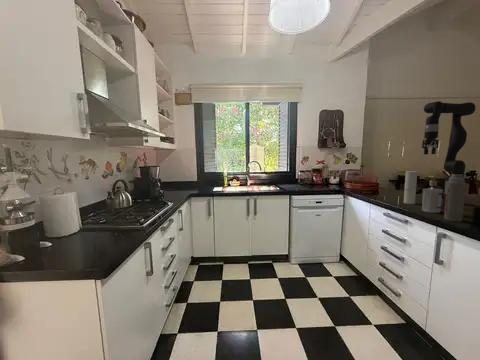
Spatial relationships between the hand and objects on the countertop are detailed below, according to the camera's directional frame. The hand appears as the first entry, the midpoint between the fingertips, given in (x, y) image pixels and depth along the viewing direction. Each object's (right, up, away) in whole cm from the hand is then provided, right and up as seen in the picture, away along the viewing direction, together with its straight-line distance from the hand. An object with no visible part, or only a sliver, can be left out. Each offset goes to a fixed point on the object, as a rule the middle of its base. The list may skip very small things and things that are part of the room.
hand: (429, 154), depth 163 cm
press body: (-6, -40, -11) cm, 42 cm away
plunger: (-7, -37, -10) cm, 39 cm away
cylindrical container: (-3, -37, +16) cm, 40 cm away
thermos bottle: (-10, -42, -29) cm, 52 cm away
